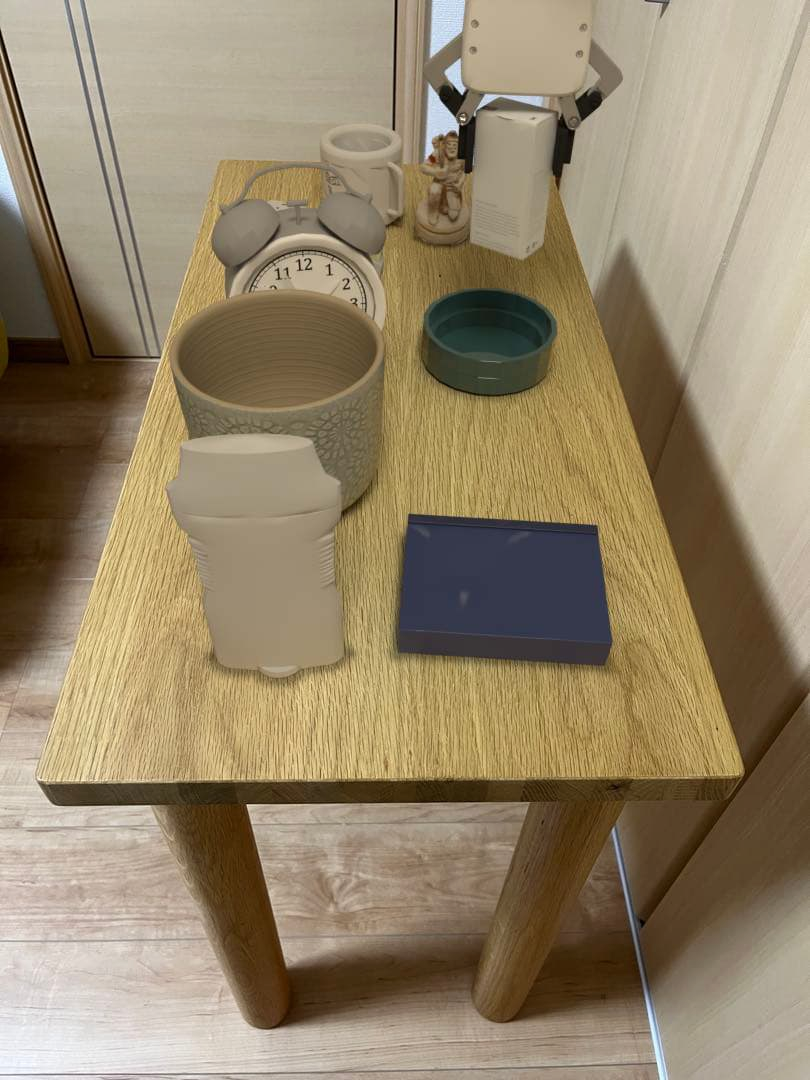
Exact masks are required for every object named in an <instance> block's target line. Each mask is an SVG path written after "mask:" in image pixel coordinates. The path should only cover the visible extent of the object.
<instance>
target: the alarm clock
mask: <svg viewBox="0 0 810 1080" xmlns="http://www.w3.org/2000/svg"><path fill="white" fill-rule="evenodd" d="M293 168H308V169H317V170H318V169H319V170H321V169H323V170H326V171H330V172H332V173H333V174H334V175H335V176H336V177H338V178H339V179H340V180H341V182H342V183H343V185H344V186H345V188H346V189H347V190H348V191H349V192H350V193H348V192H339V193H333V194H330V195H328V196H327V197H325V198H324V199H323V198H322V200H321V202H320V203H319V205H318V207H317V208H315V207H314V208H313V207H308V205H309V200H308V199H307V198H302V199H288V200H286V201H285V202H286V204H287V207H292V208H288V209H283V210H278V211H276V210H275V209H274V208H273V207H272V206H271V205H270V204H268V203H267V201H265V200H264V199H260V198H247V199H245V198H246V196H247V194H248V192H249V190H250V188H251V186H252V185H253V184H254V183H255V181H257V179H258V178H259V177H261V176H263V175H266V174H268V173H272V172H277V171H280V170H286V169H293ZM372 196H373V194H372V193H368V194H366V195H365V196H364V195H362V194H360V193H358V192H357V191H355V190H353V189H352V188H351V187H350V186H349V185H348V184H347V182H346V181H345V179H344V177H343V175H341V174H340V173H339V172H338V171H337V170H336V169H335V168H333V167H331V166H328V165H324V164H321V162H310V161H289V162H282V163H277V164H274V165H270V166H266V167H264V168H261V169H259V170H257V171H255V172H254V173H253V174H252V175H251V176H250V178H249V179H248V180H247V181H246V183H245V185H244V187H243V190H242V192H241V194H240V195H239V196H238V197H237V198H236V199H235V200H233V201H232V202H231V203H230V204H228V205H227V204H226V203H219V205H218V207H219V211H220V212H221V214H220V215H219V216H218V218H217V220H215V221H216V222H215V224H214V226H213V229H212V233H211V239H210V244H211V250H212V251H213V253H214V255H215V256H216V259H217V260H218V261H219V262H220V263H221V264H222V266H224V267H225V269H224V292H225V299H227V298H230V297H233V296H236V295H240V294H244V293H249V292H255V291H261V290H272V289H298V290H308V291H314V292H319V293H324V294H328V295H331V296H335V297H338V298H340V299H343V300H345V301H348V302H350V303H352V304H354V305H355V306H357V307H359V308H360V309H362V310H363V311H365V312H366V313H367V314H368V315H369V316H370V317H371V318H372V319H373V320H374V321H375V322H376V324H377V325H378V327H379V328H380V330H381V332H382V331H383V329H384V327H385V323H386V313H387V308H388V307H387V301H386V293H385V287H384V285H383V282H382V280H381V278H379V275H378V273H377V271H376V268H375V266H374V264H373V262H372V259H371V257H370V255H369V253H370V254H374V255H376V254H379V253H380V252H381V250H382V248H383V249H384V247H385V245H386V240H387V227H386V226H387V225H386V226H385V223H384V221H383V218H382V217H381V215H380V213H379V212H378V210H377V209H376V208H375V207H374V206H373V205H372V204H371V201H372V199H373V198H372ZM300 206H303V207H307V208H300ZM382 333H383V332H382Z"/></svg>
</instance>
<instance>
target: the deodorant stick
mask: <svg viewBox="0 0 810 1080" xmlns="http://www.w3.org/2000/svg"><path fill="white" fill-rule="evenodd" d="M164 490H165V492H166V496H167V499H168V503H169V507H170V510H171V514H172V515H173V518H174V521H175V522H176V524H177V526H178V528H179V529H180V530H181V531H183V532H184V533H186V534H187V537H186V539H187V541H188V544H189V545H190V549H191V551H192V554H193V555H194V558H193V559H194V561H195V564H196V567H197V571H198V576H199V579H200V583H201V585H202V586H203V587H204V588H203V594H202V599H201V605H202V608H203V612H204V616H205V620H206V624H207V628H208V632H209V635H210V638H211V642H212V646H213V650H214V655H215V658H216V660H217V663H218V664H220V665H222V666H224V667H225V668H228V669H238V670H249V671H259V672H260V673H261V674H263V675H264V676H267V677H269V678H275V679H281V678H287V677H291V676H293V675H294V674H296V673H297V672H299V671H300V670H304V669H310V668H316V667H322V666H329V665H333V664H335V663H337V662H339V661H341V660H342V658H343V657H344V655H345V642H344V624H343V607H342V606H343V605H342V596H341V594H340V592H339V591H338V590H337V587H336V585H335V584H334V581H335V580H336V575H335V573H336V571H335V564H334V563H335V551H334V549H335V547H334V545H335V537H336V536H335V535H336V532H335V530H334V528H335V527H336V526H337V524H339V522H340V521H341V518H342V512H343V511H342V501H341V482H340V481H339V480H338V479H337V478H336V477H334V476H332V475H331V474H329V473H327V472H325V471H324V469H323V467H322V465H321V463H320V460H319V458H318V456H317V453H316V450H315V447H314V443H313V442H312V441H311V440H310V439H307V438H304V437H299V436H291V435H280V434H231V435H218V436H208V437H202V438H196V439H192V440H190V439H188V440H185V441H183V442H182V443H180V444H179V462H178V470H177V475H176V476H175V477H174V478H173V479H172V480H170V481H169V482H168V483H167V484H166V485H164ZM341 511H342V512H341Z"/></svg>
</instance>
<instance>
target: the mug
mask: <svg viewBox="0 0 810 1080" xmlns="http://www.w3.org/2000/svg"><path fill="white" fill-rule="evenodd" d="M403 145H404V143H403V139H402V138H401V136H400V135H399V133H398V132H396V131H395V130H393V129H391V128H389V127H387V126H384V125H379V124H373V123H348V124H342V125H338V126H335V127H332V128H330V129H328V130H326V131H325V132H324V133H323V134H322V135H321V138H320V139H319V156H320V164H324V165H328V166H331V167H333V168H335V169H336V170H337V171H338V172H339V173H340V174H341V175H343V177H344V179H345V181H346V182H347V184H348V185H349V186H350V187H351V188H352V189H353V190H355V191H357V192H358V193H360V194H362V195H364V196H365V195H366V194H368V193H372V194H373V196H372V198H373V199H372V201H371V204H372V205H373V206H374V207H375V208H376V209H377V210H378V212H379V213H380V215H381V217H382V218H383V221H384V223H385V226H388V225H391V224H392V223H394V222H395V221H396V220H397V219H398V218H400V217H402V216H403V215H404V214H405V213H404V212H405V172H404V171H403V170H402V161H403V152H404V151H403V149H404V147H403ZM320 170H321V171H320V172H321V189H322V200H323V199H324V198H325V197H327V196H328V195H330V194H333V193H339V192H348V193H350V192H349V191H348V190H347V189H346V188H345V186H344V185H343V183H342V182H341V180H340V179H339V178H338V177H336V176H335V175H334V174H333V173H332V172H330V171H326V170H323V169H320Z"/></svg>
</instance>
